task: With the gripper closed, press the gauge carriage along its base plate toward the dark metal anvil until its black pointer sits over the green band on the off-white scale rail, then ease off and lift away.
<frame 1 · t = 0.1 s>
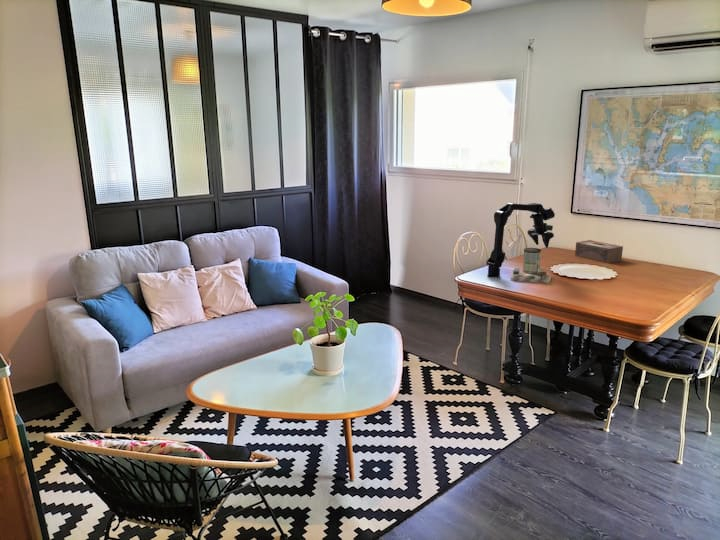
hand: (542, 246, 324), 15 cm above the table, tool pointing down, fingers open, 9 cm apart
gauge carriage: (539, 274, 305), point 4 cm above the table, slide at 0.0 cm
coffee can: (530, 271, 326), on the table
tissue box cover: (597, 258, 356), on the table
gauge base: (530, 279, 309), on the table
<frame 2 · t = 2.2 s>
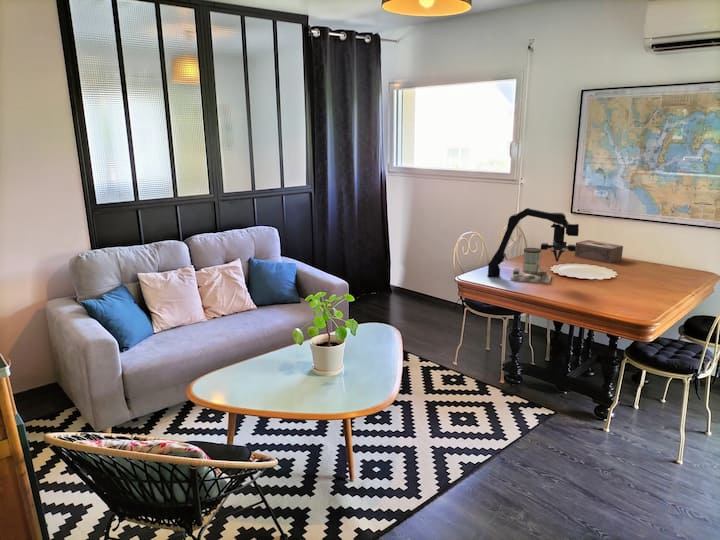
hand: (556, 261, 300), 12 cm above the table, tool pointing down, fingers closed
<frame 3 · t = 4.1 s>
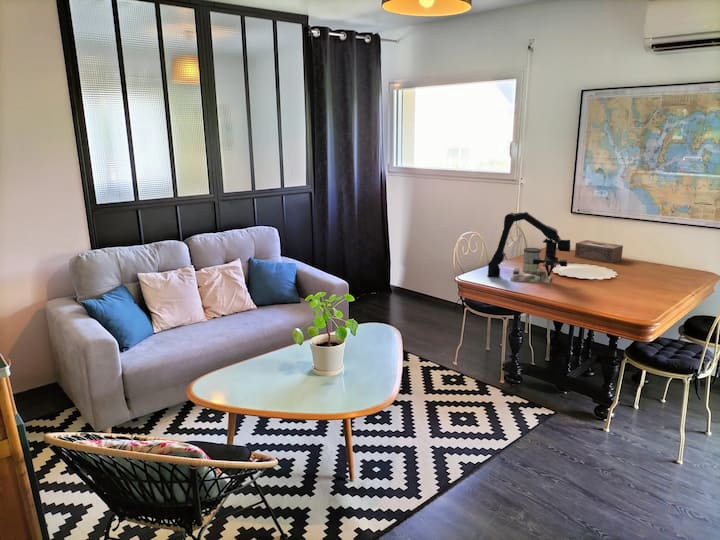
hand: (548, 276, 304), 3 cm above the table, tool pointing down, fingers closed
gauge carriage: (538, 274, 305), point 4 cm above the table, slide at 0.3 cm, touching gripper
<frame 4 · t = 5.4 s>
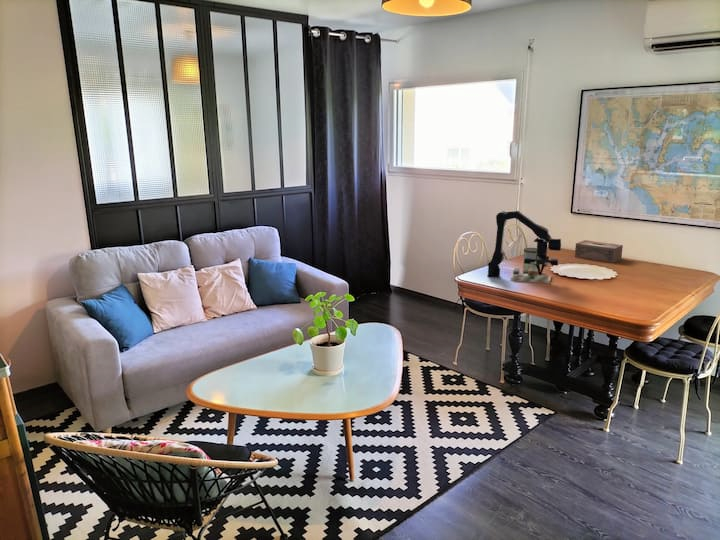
hand: (540, 275, 305), 3 cm above the table, tool pointing down, fingers closed
gauge carriage: (529, 273, 307), point 4 cm above the table, slide at 5.1 cm, touching gripper
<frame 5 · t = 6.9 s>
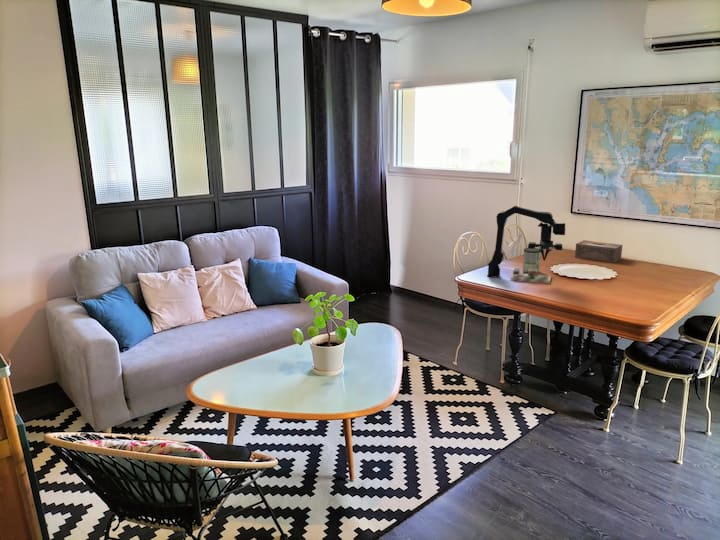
hand: (544, 260, 303), 12 cm above the table, tool pointing down, fingers closed
gauge carriage: (529, 273, 307), point 4 cm above the table, slide at 5.1 cm
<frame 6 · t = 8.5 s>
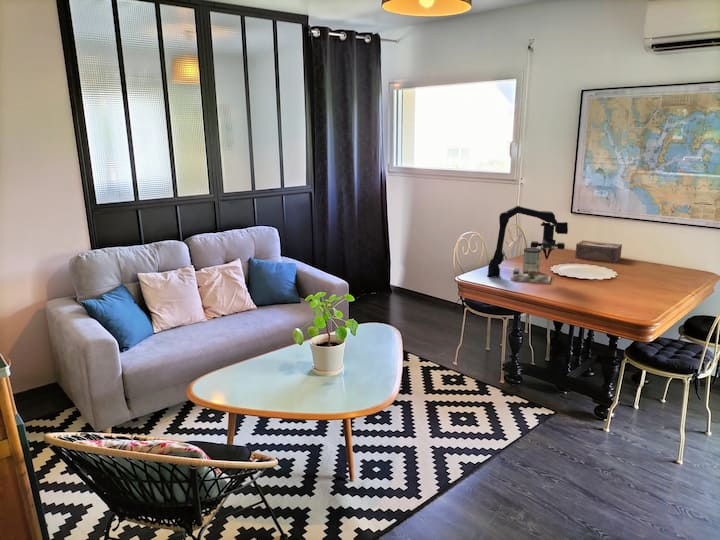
hand: (546, 259, 305), 12 cm above the table, tool pointing down, fingers closed
at the end: gauge carriage slide at 5.1 cm; coffee can moved 0.2 cm from its start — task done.
